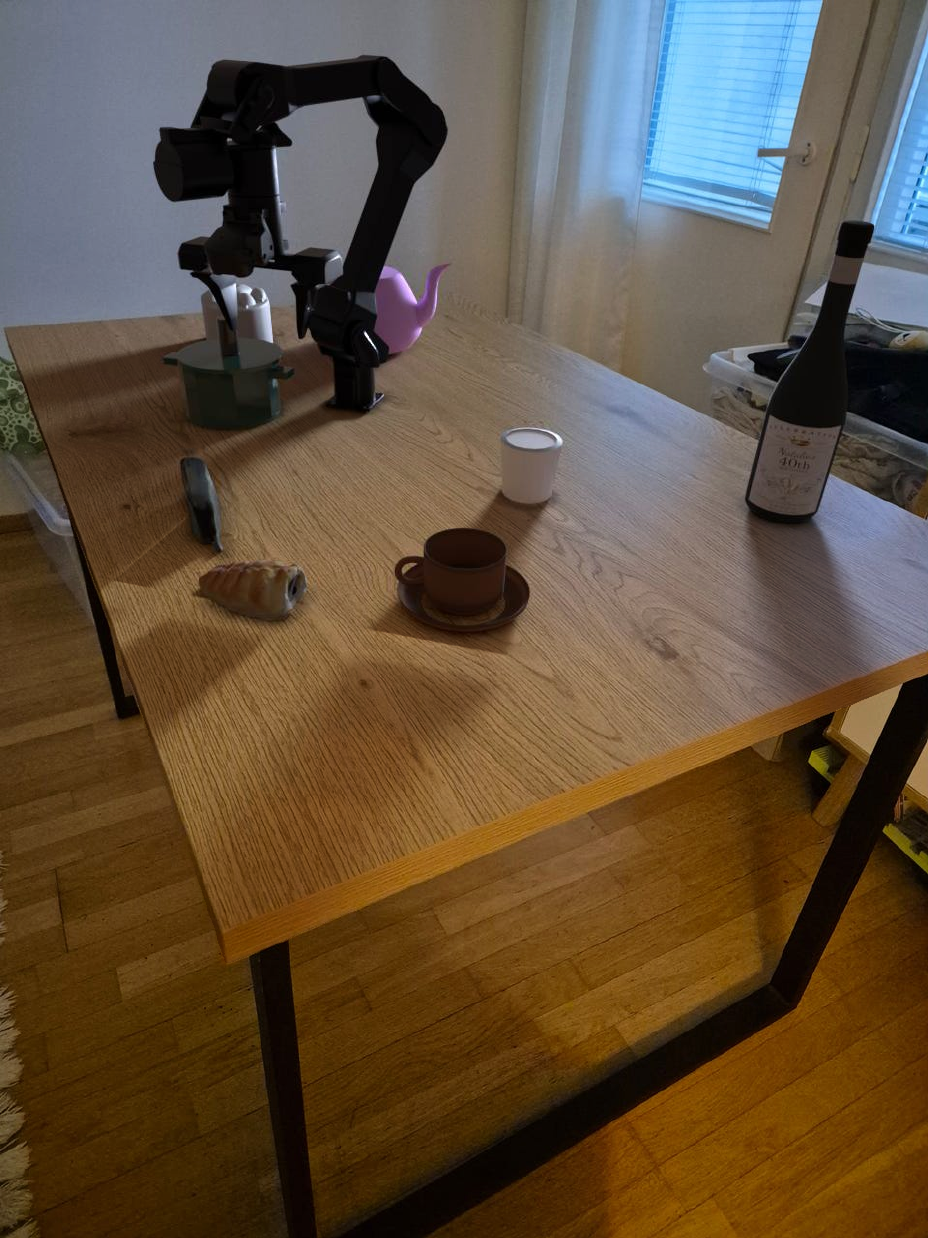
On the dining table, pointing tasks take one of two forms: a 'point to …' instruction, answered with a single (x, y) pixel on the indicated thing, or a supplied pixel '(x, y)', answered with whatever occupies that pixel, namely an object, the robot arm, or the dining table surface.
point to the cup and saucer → (462, 579)
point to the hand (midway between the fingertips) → (267, 334)
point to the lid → (229, 353)
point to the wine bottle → (809, 400)
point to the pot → (231, 396)
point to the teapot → (403, 308)
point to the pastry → (255, 587)
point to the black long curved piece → (201, 501)
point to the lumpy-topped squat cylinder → (241, 314)
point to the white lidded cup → (529, 464)
